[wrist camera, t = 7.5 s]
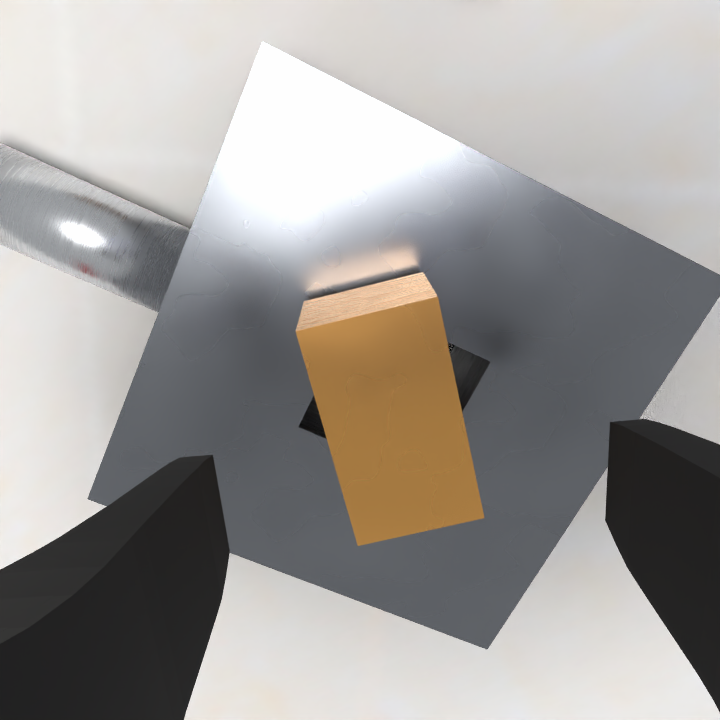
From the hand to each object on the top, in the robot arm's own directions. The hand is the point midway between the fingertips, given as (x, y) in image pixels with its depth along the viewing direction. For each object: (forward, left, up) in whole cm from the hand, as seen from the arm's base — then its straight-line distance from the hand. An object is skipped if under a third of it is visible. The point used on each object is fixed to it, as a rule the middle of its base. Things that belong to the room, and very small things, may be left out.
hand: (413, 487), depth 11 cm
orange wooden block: (0, 0, -8) cm, 8 cm away
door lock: (+3, 0, -8) cm, 9 cm away
